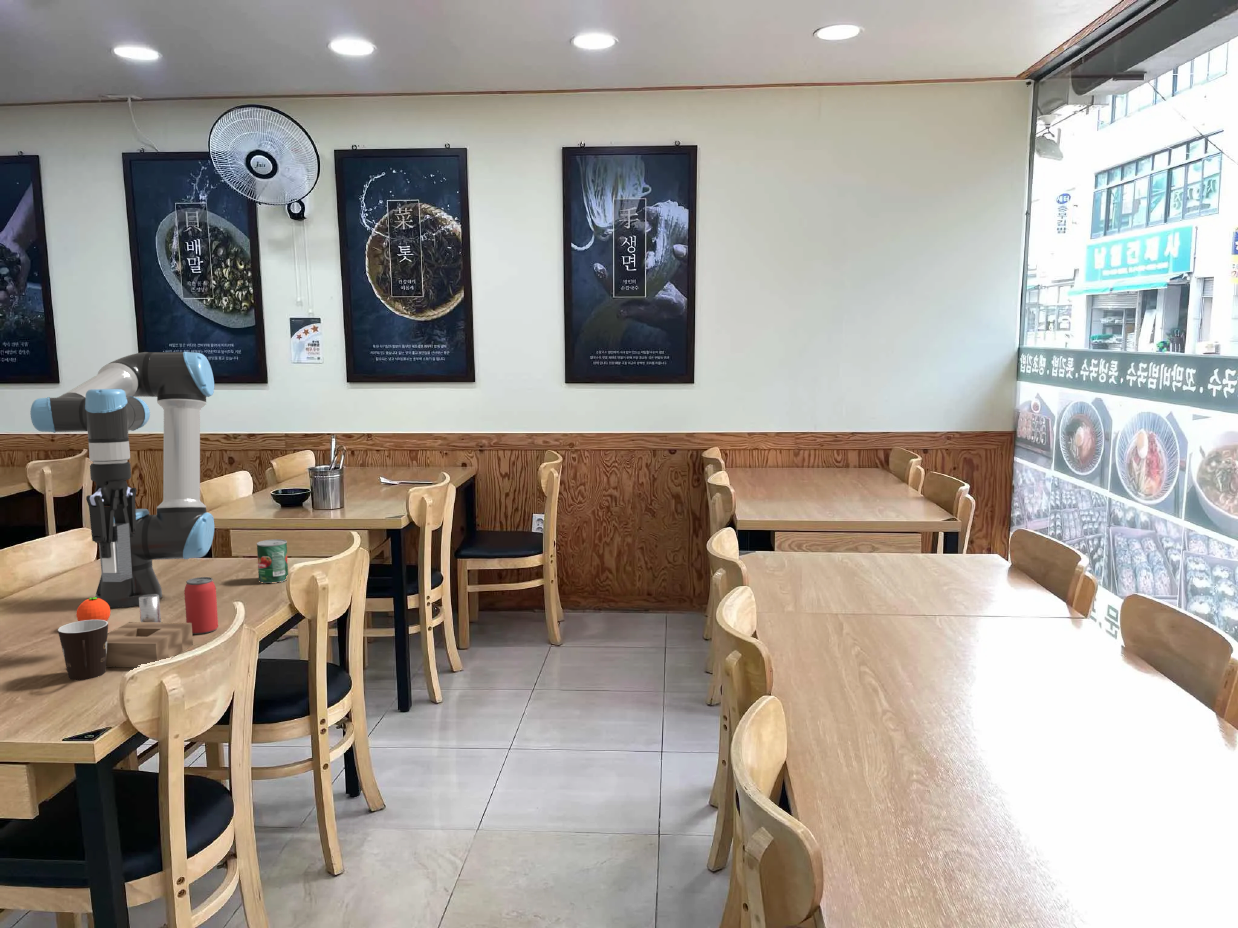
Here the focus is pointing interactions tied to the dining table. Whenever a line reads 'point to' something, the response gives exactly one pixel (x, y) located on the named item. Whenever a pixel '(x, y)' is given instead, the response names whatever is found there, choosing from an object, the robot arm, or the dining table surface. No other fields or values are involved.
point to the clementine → (93, 610)
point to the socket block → (146, 642)
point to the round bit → (149, 608)
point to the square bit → (120, 554)
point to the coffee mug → (84, 648)
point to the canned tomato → (272, 560)
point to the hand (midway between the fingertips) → (117, 569)
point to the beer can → (201, 605)
